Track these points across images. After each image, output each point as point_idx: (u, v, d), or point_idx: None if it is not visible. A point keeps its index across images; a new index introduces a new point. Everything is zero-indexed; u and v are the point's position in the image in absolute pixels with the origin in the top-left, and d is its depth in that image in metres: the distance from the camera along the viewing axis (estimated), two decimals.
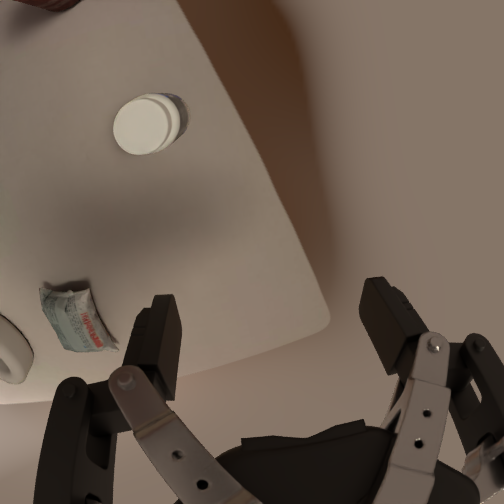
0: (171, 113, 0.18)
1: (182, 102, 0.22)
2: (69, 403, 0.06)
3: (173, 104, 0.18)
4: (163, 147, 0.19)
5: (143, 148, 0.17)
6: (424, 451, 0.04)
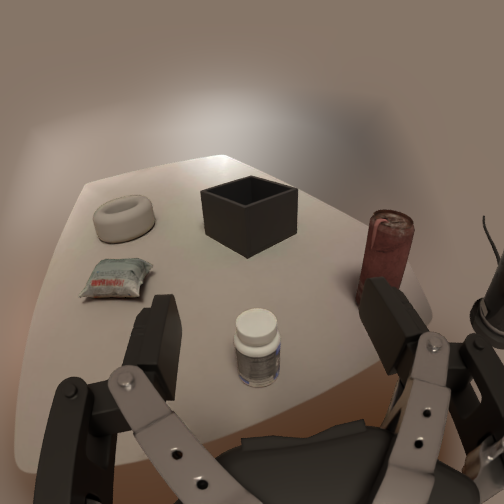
0: (263, 348, 0.26)
1: (270, 376, 0.29)
2: (69, 403, 0.06)
3: (270, 352, 0.27)
4: (237, 344, 0.27)
5: (240, 323, 0.27)
6: (424, 451, 0.04)
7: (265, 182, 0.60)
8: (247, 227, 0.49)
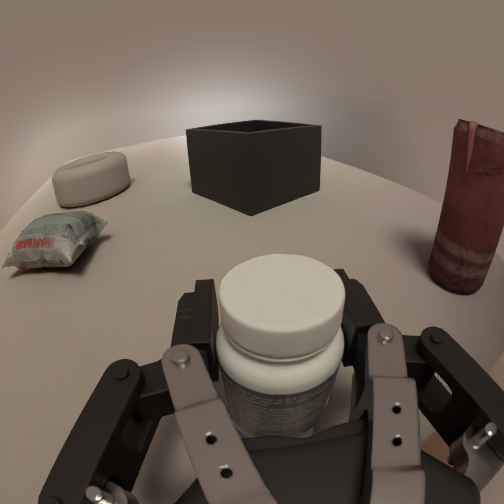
0: (304, 368, 0.08)
1: (309, 429, 0.10)
2: (117, 385, 0.07)
3: (322, 378, 0.08)
4: (224, 355, 0.09)
5: (233, 289, 0.09)
6: (405, 447, 0.05)
7: (275, 123, 0.42)
8: (251, 165, 0.31)
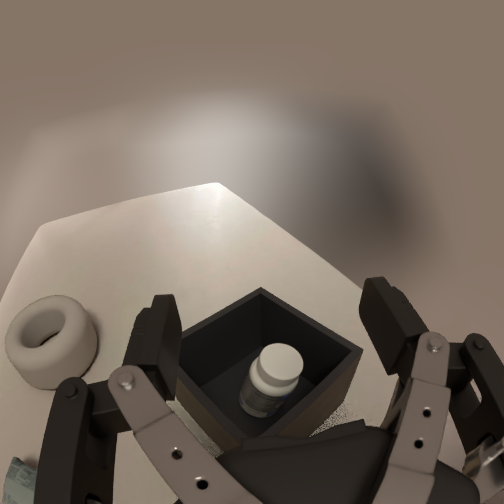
0: (271, 388, 0.23)
1: (264, 412, 0.26)
2: (69, 403, 0.06)
3: (276, 395, 0.23)
4: (252, 368, 0.25)
5: (266, 352, 0.24)
6: (424, 451, 0.04)
7: (291, 315, 0.29)
8: None
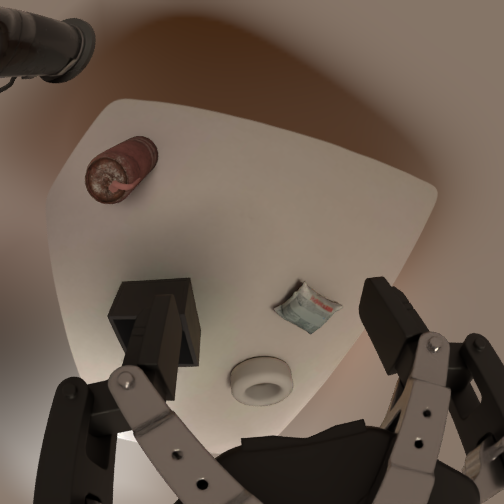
0: None
1: None
2: (70, 403, 0.06)
3: None
4: None
5: None
6: (424, 451, 0.04)
7: (126, 347, 0.47)
8: (184, 299, 0.47)
